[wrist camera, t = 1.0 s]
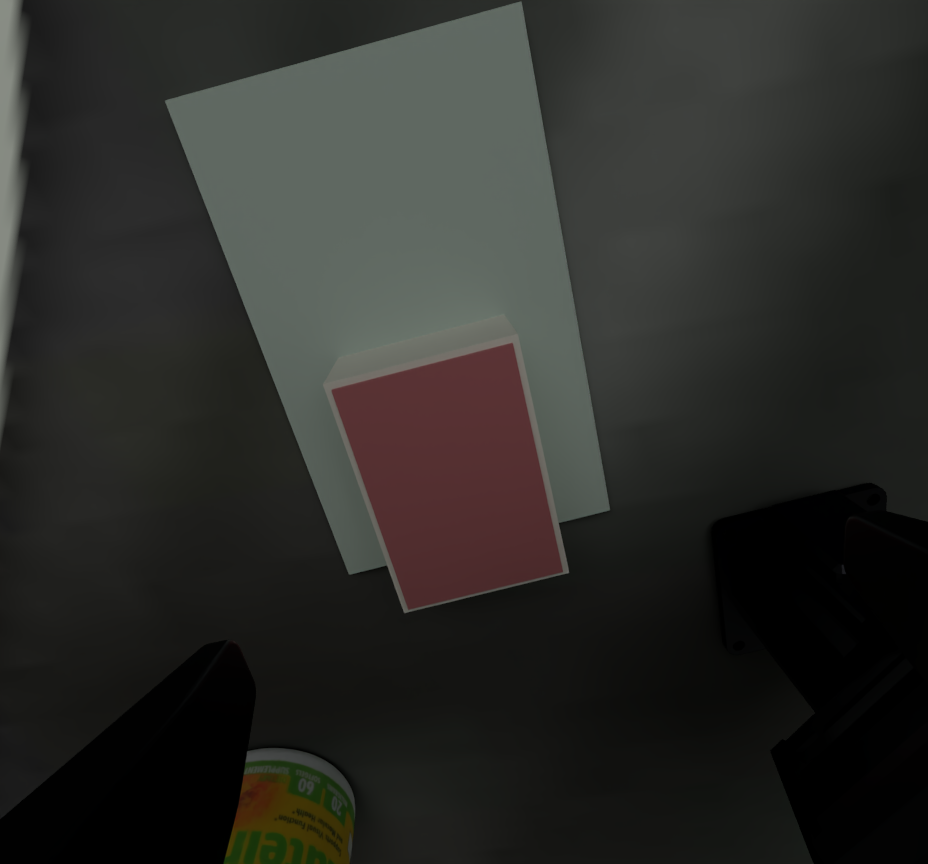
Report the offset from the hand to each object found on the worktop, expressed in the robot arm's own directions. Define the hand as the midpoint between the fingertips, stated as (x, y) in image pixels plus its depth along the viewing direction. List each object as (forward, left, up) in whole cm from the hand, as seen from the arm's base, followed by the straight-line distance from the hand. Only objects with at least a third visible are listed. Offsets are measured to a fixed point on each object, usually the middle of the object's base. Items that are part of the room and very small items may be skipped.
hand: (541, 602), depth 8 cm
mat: (+2, +1, -12) cm, 12 cm away
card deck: (-2, +1, -12) cm, 12 cm away
